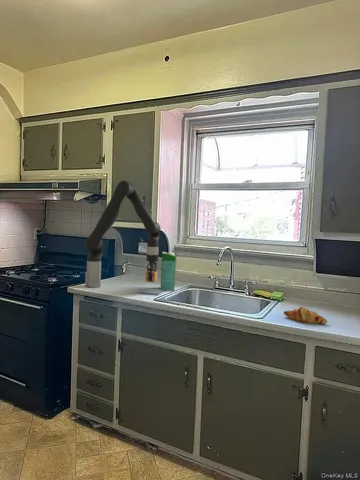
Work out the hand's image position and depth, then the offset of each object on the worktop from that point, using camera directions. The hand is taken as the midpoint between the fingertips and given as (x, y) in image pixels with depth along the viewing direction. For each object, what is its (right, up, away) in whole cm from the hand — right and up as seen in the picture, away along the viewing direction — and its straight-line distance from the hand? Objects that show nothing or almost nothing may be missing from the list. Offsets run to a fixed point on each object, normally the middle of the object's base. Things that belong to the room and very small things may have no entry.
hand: (151, 279), depth 227 cm
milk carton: (+10, -8, +13) cm, 18 cm away
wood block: (0, -1, 0) cm, 1 cm away
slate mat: (0, -8, +1) cm, 8 cm away
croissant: (+81, -16, -48) cm, 95 cm away
